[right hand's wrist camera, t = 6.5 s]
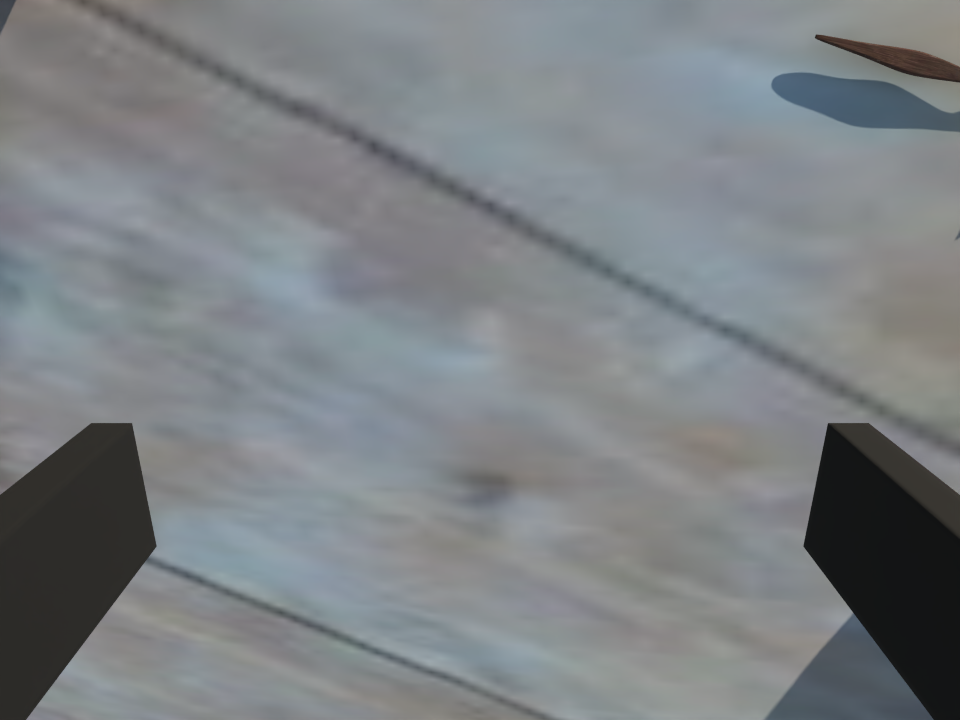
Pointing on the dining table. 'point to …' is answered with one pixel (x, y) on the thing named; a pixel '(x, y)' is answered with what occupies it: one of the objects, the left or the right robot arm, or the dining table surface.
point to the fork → (899, 59)
